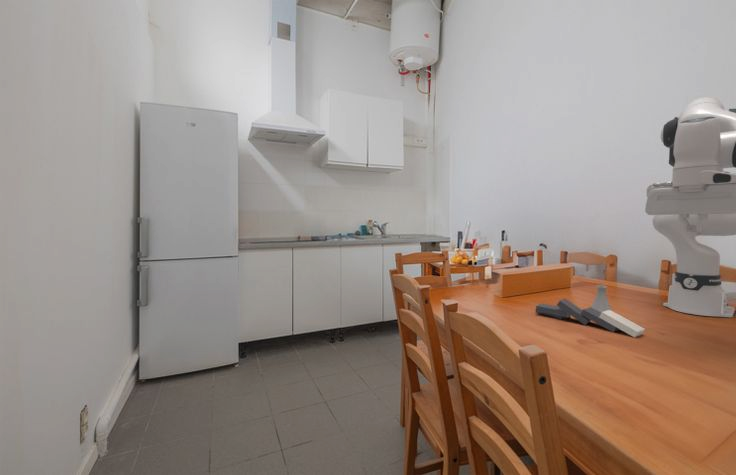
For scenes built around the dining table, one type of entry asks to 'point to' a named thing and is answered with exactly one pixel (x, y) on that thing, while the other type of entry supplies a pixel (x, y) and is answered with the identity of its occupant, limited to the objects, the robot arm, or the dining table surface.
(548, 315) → the domino
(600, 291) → the flask
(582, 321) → the domino
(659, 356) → the dining table surface
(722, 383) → the dining table surface
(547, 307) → the domino
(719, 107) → the robot arm
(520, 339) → the dining table surface
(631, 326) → the domino
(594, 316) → the domino
